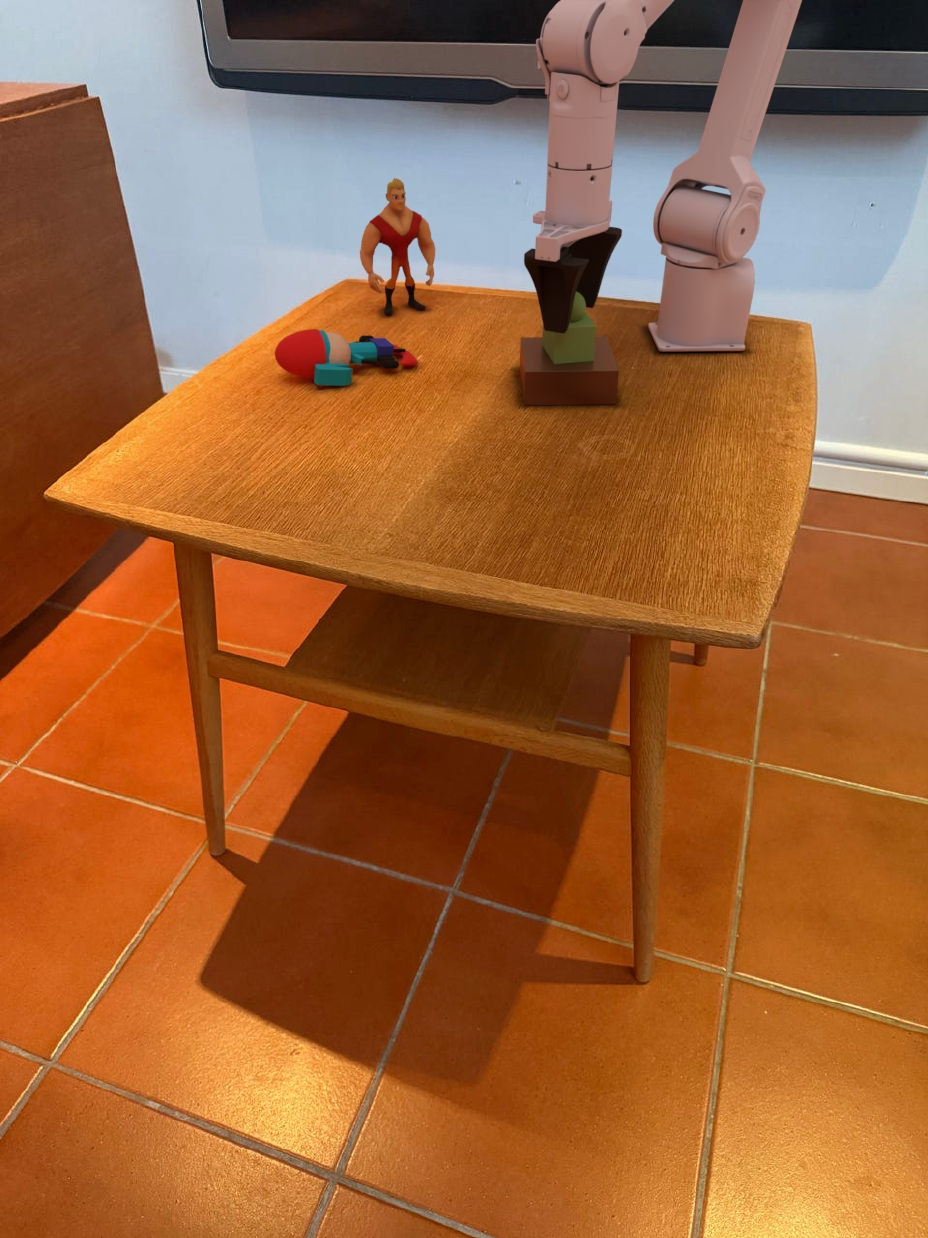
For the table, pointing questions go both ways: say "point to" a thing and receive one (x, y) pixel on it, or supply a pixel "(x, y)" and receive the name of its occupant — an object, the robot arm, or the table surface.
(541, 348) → the walnut block
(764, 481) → the table surface
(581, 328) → the green toy
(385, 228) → the action figure
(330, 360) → the toy figure
